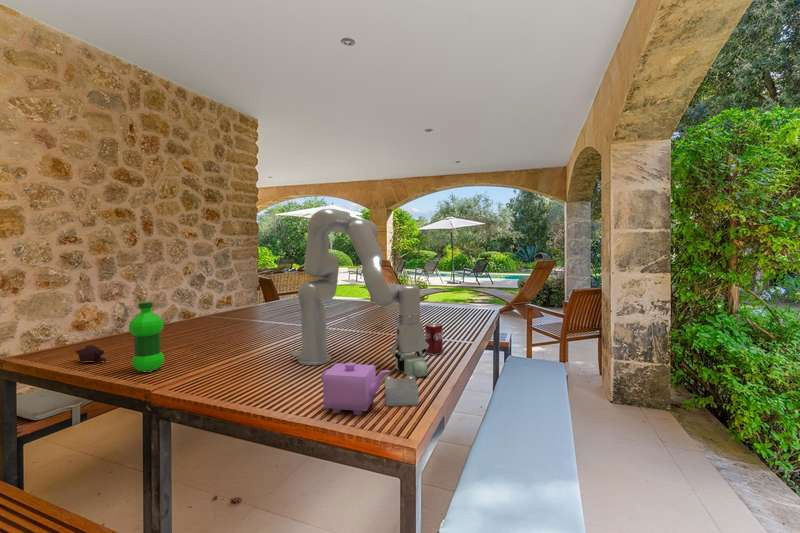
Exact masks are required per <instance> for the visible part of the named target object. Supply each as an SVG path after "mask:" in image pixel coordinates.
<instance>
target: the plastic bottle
mask: <svg viewBox="0 0 800 533" xmlns="http://www.w3.org/2000/svg"><path fill="white" fill-rule="evenodd" d="M153 307H154V302H153V301H143V302H139V303H138V309H140V313H138V314H137V315H136V316H135V317H134V318H132V320H130V322H129V324H128V329H129V330H128V331H129V333H130V334H131V335H133V343H134V344H133V346H134V356H133V358H132V360H131V365H132V366H133V368H134V369H135V370H136V371H138V372H140V371H151V370H155V369H157V370H158V369H159V368H160V367H161V366H162V365H163V364H164V361H165V356H164V353H163V352H162V351H161V350H162V349H161V348H162V347H161V345H162V344H161V332H162V331H163V329H164V325H165V321H164V320H163V318H162V317H160V316H159V315H158V314H157V313H155V312H152V308H153Z"/></svg>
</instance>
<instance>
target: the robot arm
mask: <svg viewBox="0 0 800 533" xmlns="http://www.w3.org/2000/svg"><path fill="white" fill-rule="evenodd" d="M306 232H307V236H306V238H307V239H306V244H305V245H306V247H305V255H304V257H305V258H304V272H305V273H306V275H308V276H309V277H311V278H315V279H311V280H307V281H305V282H304V283H302V284H301V285H300V287H299V289H298V292H297V297H298V298H297V299H298V302H299V307H300V308H299V309H300V322H301V323H300V326H301V349H298V350H291V351H290V356H292V357H293V358H296V357H297V358H298V359H297V362H298V364H300V365H303V366H317V365H318V366H321V365H324V364H328V363H329V362H331V360H332V355H330V354H328V346H327V345H328V344H327V343H328V341H327V339H328V338H327V337H328V336H327V312H326V308H325V306H324V303H328V302H329V301H331V300H332V299H333V298H334V297H335V296H336V292H337V289H338V288H337V286H338V278H339V268H340V267H339V260H338V258H337V256H336V255H335V254H334V253H332V252H329V251H330V250H329V249H330V237H329V233H342V234H344V235H347V236H348V237H349V240H350V241H351V244H352V246H353V247H354V248H353V249H354V250H355V252H356V255H357V256H358V258H359V261H360V262H361V265H362V266H361V268H362V275H363V281H364V285H365V287H366V289H367V292H368V294H369V295H370V298H371V300H372V301H373V302H374V303H375V304H376V305H377V306H378V307H381V308H387V307H389V306H392V305H394V304H398V317H396V318H395V321H396V322H398V323H397V325H396V331H395V343H394V344H393V345H392V346H391V348H390V349H389V352H390V353H391V355H393V357H394V358H395V357H396V358H397V359H398V369H399V370H400V372H401V371H402V372H401V373H403V372H404V360H403V357H404V355H405V353H416V355H418V356H420V357H422V358H424V355H425V354H426V349H427V348H428V347H429V344H428V343H427V342H426V341H425V328H424V325H423V322H421V288H420V287H419V286H418V285H417V284H399V283H393V282H392V283H391V282H390V283H387V281H386V279H385V277H384V274H383V270H382V262H383V259H384V254H383V251H382V248H381V247H380V245H379V243H378V241H377V239H376V238H377V237H378V233H379V231H378V227H377V225H376V224H375V223H374V222H373V220H372V221H371V220H369V219H366V218H363V217H362V216H359V215H356V214H354V213H351V212H348V211H345V210H340V209H335V208H334V209H333V208H322V209H319V210H318V211H316V212H315V213H313V215H311V217H309V220H308V223H307V231H306ZM397 351H398V352H397ZM398 369H397V370H398ZM399 370H398V371H399Z"/></svg>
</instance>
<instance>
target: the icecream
mask: <svg viewBox="0 0 800 533" xmlns="http://www.w3.org/2000/svg"><path fill="white" fill-rule="evenodd" d="M75 354H77V355H78V359H79V361H81V362H82V361H95V362H99V361H106V362H107V359H106V358H105V357H103V355H104V354H105V350H104V349H100V347H98V346H95V345H93V344H91V345H87V346H85V348H81V349H76V350H75ZM96 360H98V361H96Z"/></svg>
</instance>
